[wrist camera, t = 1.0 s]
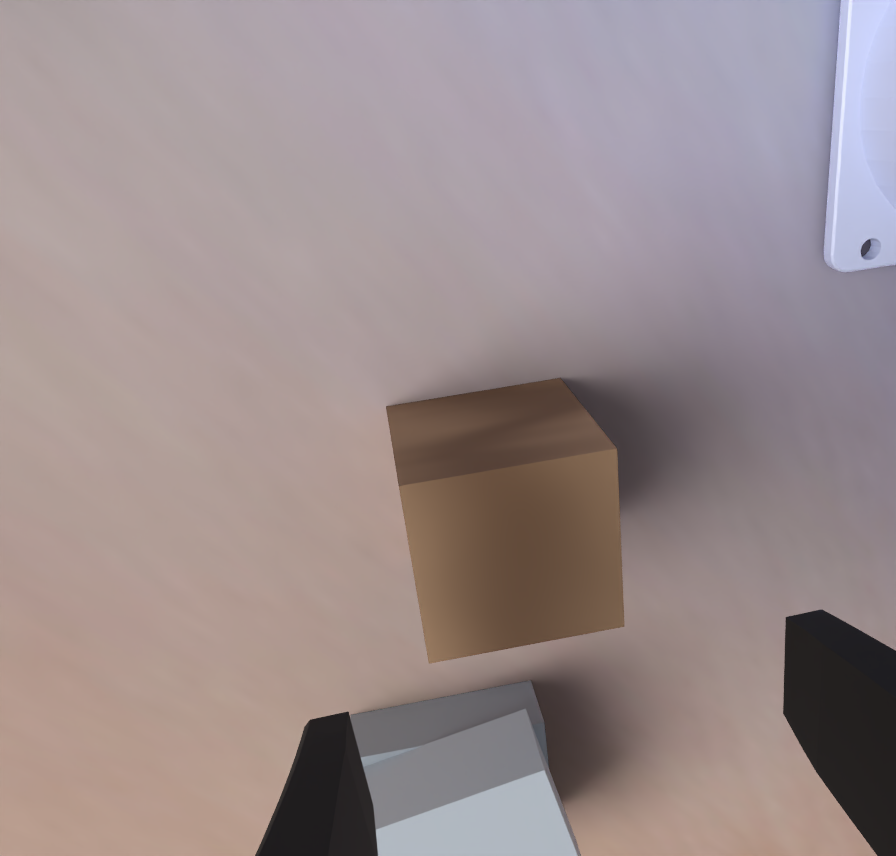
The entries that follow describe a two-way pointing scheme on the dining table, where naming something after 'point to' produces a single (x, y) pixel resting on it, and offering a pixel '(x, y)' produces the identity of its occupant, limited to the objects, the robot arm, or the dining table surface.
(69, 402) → the dining table surface
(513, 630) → the walnut cube
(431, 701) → the tower base
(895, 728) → the robot arm
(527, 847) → the tower top
